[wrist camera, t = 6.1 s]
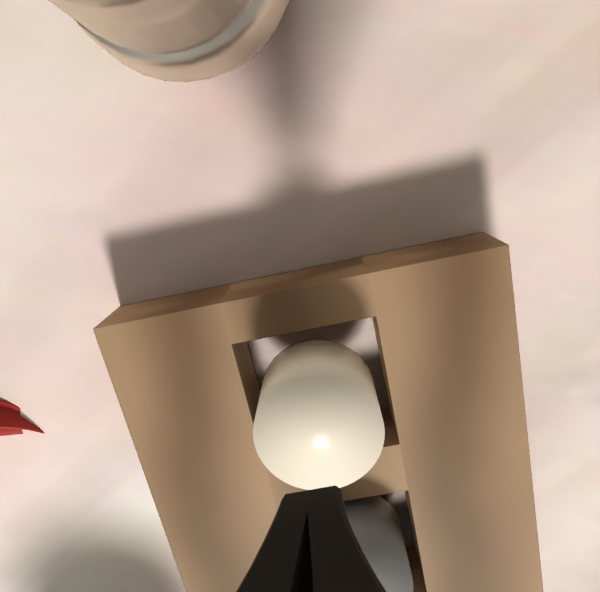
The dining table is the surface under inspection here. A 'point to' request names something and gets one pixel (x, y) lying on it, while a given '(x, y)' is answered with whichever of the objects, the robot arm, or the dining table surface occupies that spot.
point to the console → (397, 420)
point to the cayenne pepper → (13, 420)
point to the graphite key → (381, 541)
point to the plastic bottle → (178, 33)
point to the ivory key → (318, 416)
